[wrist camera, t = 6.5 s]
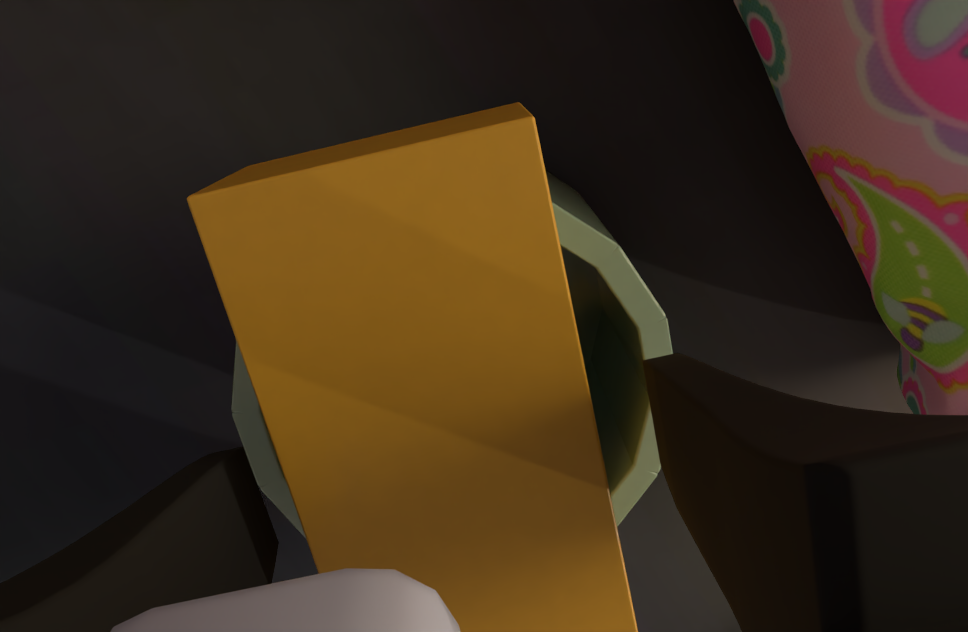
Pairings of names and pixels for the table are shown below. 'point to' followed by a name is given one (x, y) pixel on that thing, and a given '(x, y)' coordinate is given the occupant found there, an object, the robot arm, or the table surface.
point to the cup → (605, 348)
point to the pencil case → (887, 160)
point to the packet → (426, 367)
